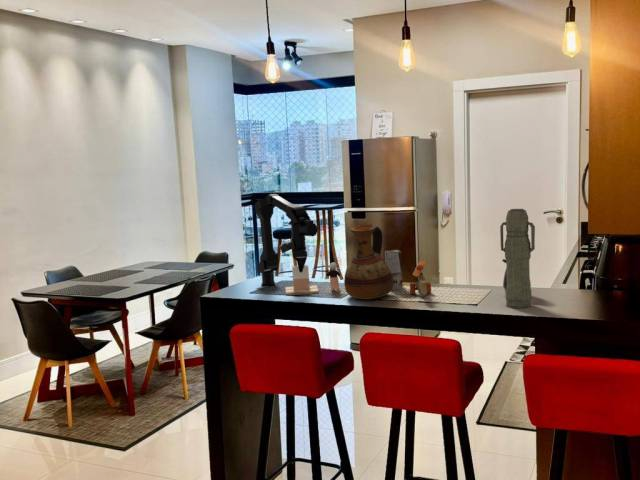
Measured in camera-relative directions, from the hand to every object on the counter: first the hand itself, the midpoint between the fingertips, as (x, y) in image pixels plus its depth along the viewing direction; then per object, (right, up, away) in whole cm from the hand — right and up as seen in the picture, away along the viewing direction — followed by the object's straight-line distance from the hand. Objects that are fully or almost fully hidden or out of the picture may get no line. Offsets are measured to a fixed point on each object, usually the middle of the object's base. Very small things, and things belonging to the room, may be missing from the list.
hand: (300, 270), depth 273 cm
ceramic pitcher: (+29, -10, -18) cm, 35 cm away
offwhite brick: (0, -3, 0) cm, 3 cm away
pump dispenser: (+85, -9, -32) cm, 91 cm away
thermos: (+81, -11, -47) cm, 94 cm away
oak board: (0, -9, +1) cm, 9 cm away
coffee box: (+41, -8, -3) cm, 42 cm away
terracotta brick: (0, -8, +1) cm, 8 cm away
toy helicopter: (+49, -10, -24) cm, 56 cm away
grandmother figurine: (+15, -9, -3) cm, 18 cm away
